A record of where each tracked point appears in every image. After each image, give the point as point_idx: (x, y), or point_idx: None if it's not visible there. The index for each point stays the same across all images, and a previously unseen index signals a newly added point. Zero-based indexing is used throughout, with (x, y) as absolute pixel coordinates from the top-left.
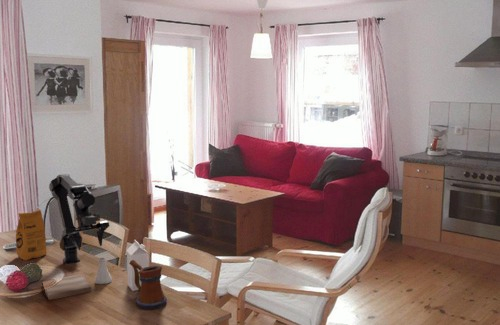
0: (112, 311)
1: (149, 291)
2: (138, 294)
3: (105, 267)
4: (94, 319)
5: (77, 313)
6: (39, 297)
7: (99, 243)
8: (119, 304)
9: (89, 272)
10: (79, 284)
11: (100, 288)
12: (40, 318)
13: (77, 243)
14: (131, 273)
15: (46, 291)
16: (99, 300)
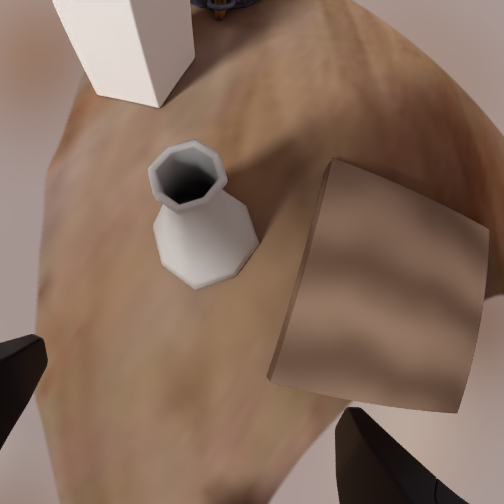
0: (337, 19)
1: None
2: (221, 11)
3: (187, 179)
4: (392, 30)
5: (423, 78)
6: (489, 289)
7: (28, 386)
8: (297, 27)
9: (181, 424)
10: (364, 230)
11: (272, 166)
12: (500, 140)
13: (412, 466)
14: (187, 1)
15: (483, 283)
16: (337, 82)
